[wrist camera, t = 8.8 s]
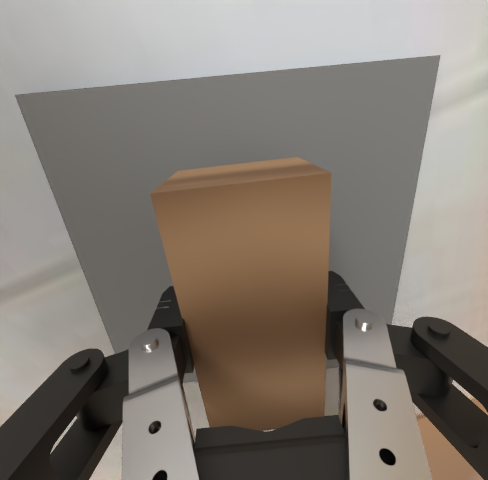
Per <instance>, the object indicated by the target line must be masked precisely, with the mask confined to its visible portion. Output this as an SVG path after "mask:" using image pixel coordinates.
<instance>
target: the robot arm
mask: <svg viewBox="0 0 488 480" xmlns="http://www.w3.org/2000/svg"><path fill="white" fill-rule="evenodd" d="M325 354H326V357H327V359H328V360H333V359H337V361H338V363H339V416H338V415H333V416H323V417H313V418H303V419H301V420H298V421H296V422H293V423H291V424H288V425H286V426H283V427H281V428H278V429H276V430H273V431H270V432H264V431H259V430H253V429H248V428H242V427H237V426H232V425H231V426H221V427H211V428H201V429H197V430H196V439H195V436H194V432H193V428H192V423H191V419H190V414H189V410H188V405H187V401H186V396H185V392H184V388H183V379H184V374H185V373H193V370H194V361H193V357H192V352H191V348H190V344H189V339H188V335H187V330H186V326H185V322H184V319H182V317H181V313H180V309H179V305H178V301H177V297H176V293H175V289H174V286H170V287H169V288H167V289H166V290H165V291H164V292H163V293H162V296H161V298H160V300H159V303H158V305H157V309H156V310H155V312H154V315H153V317H152V319H151V322H150V324H149V326H148V329H147V331H144V332H142V333H141V334H139V335H138V336H136V337H135V338H134V339H133V340H132V342H131V343H130V346H129V349H127V350H125V351H122V352H120V353H117V354H114V355H111V356H108V357H104V355H103V353H102V351H101V350H99V349H86V350H83V351H80V352H78V353H76V354H74V355H72V356H71V357H69V358H68V359H67V360H65V361H64V362H63V363H62V364H61V365H60V366H59V367H58V368H57V369H56V370H55V371H54V372H53V373H52V375H51V376H50V377H49V378H48V379H47V380H46V381H45V382H44V383H43V384H42V385H41V386H40V387H39V388H38V389H37V390H36V391H35V392H34V393H33V394H32V395H31V396H30V397H29V398H28V399H27V400H26V401H25V402H24V403H23V404H22V405H21V406H20V407H19V408H18V409H17V410H16V411H15V412H14V413H13V415H12V416H11V417H10V418H9V419H8V420H7V421H6V422H5V423H4V424H3V425H2V426H1V427H0V480H89V479H90V477H91V475H92V473H93V472H94V470H95V468H96V467H97V465H98V463H99V462H100V460H101V458H102V456H103V455H104V453H105V451H106V450H107V448H108V446H109V444H110V443H111V441H112V439H113V438H114V436H115V434H116V432H117V431H118V429H119V427H120V426H121V424H122V422H123V425H122V480H433V479H432V475H431V471H430V468H429V464H428V460H427V456H426V452H425V448H424V444H423V441H422V437H421V433H420V429H419V425H418V421H417V418H416V414H415V410H414V406H413V403H414V404H415V405H416V406H417V407H418V408H419V409H420V410H421V412H422V413H423V414H424V415H425V416H426V417H427V418H428V419H429V420H430V421H431V422H432V424H433V425H434V426H435V427H436V428H437V429H438V430H439V431H440V432H441V433H442V434H443V435H444V436H445V438H446V439H447V440H448V441H449V442H450V443H451V444H452V445H453V446H454V447H455V448H456V450H457V451H458V452H459V453H460V454H461V455H462V456H463V457H464V458H465V459H466V460H467V462H468V463H469V464H470V465H471V466H472V467H473V468H474V469H475V470H476V471H477V472H478V474H479V475H480V476H481V477H482V478H483V479H484V480H488V415H487V414H486V413H484V412H483V411H482V410H481V409H480V408H479V407H478V406H476V405H475V404H474V403H473V402H472V401H471V400H470V399H468V398H467V397H466V396H465V395H464V394H463V393H462V392H461V391H459V390H458V389H457V388H456V387H455V386H454V385H453V384H452V381H453V380H455V381H456V382H457V383H458V384H459V385H460V386H462V387H463V388H464V389H465V390H466V391H467V392H469V393H470V394H471V395H472V396H473V397H474V398H476V399H477V400H478V401H479V402H480V403H481V404H482V405H483V406H484V407H485V409H486V410H487V412H488V347H486V346H485V345H483V344H482V343H480V342H479V341H477V340H476V339H474V338H473V337H471V336H470V335H468V334H467V333H465V332H464V331H462V330H461V329H459V328H458V327H456V326H455V325H453V324H451V323H449V322H447V321H445V320H442V319H439V318H434V317H421V318H418V319H416V320H415V321H414V323H413V327H412V328H410V327H402V326H395V325H389V324H386V322H385V321H384V319H383V318H382V317H381V316H380V315H378V314H377V313H375V312H372V311H370V310H366V309H365V308H364V307H363V306H362V304H361V303H360V301H359V300H358V299H357V297H356V296H355V295H354V293H353V292H352V290H350V288H349V286H348V285H346V282H345V281H344V279H343V278H342V277H341V276H340V275H338V274H337V273H335V272H334V271H328V304H327V312H326V332H325ZM75 416H77V419H76V421H75V422H74V423H73V425H72V426H71V427H70V429H69V430H68V432H67V433H66V434H65V436H64V437H63V438H62V440H61V441H60V442H59V444H58V445H57V446H56V448H55V449H54V450H53V452H52V453H51V450H52V448H53V446H54V444H55V442H56V441H57V440H58V438H59V437H60V436H61V434H62V433H63V432H64V430H65V429H66V428H67V426H68V425H69V424H70V422H71V421H72V420H73V418H74V417H75ZM50 453H51V454H50Z"/></svg>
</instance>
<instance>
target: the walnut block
mask: <svg viewBox="0 0 488 480" xmlns="http://www.w3.org/2000/svg"><path fill="white" fill-rule="evenodd" d="M150 196H151V200H152V204H153V208H154V212H155V215H156V219H157V223H158V227H159V231H160V235H161V239H162V243H163V247H164V250H165V254H166V258H167V262H168V266H169V270H170V274H171V278H172V282H173V286H174V289H175V293H176V297H177V301H178V305H179V309H180V313H181V317H182V319H184V322H185V326H186V330H187V335H188V339H189V344H190V348H191V352H192V357H193V361H194V367H195V371H196V375H197V379H198V383H199V387H200V391H201V395H202V398H203V402H204V406H205V410H206V414H207V418H208V422H209V426H210V428H211V427H221V426H231V425H232V426H237V427H242V428H248V429H253V430H259V431H262V430H271V429H278V428H281V427H283V426H286V425H288V424H291V423H293V422H296V421H298V420H301V419H303V418H313V417H323V416H324V405H325V371H326V354H325V332H326V312H327V304H328V270H329V236H330V203H331V172H329V171H327V170H324V169H322V168H320V167H318V166H316V165H314V164H312V163H310V162H308V161H306V160H303V159H301V158H299V157H292V158H284V159H275V160H266V161H258V162H249V163H240V164H232V165H223V166H214V167H206V168H197V169H188V170H180V171H177V172H176V173H175V174H173V175H172V176H171V177H170V178H168V179H167V180H166V181H165V182H164V183H162V184H161V185H160V186H159V187H157V188H156V189H155V190H154V191H152V192H151V193H150Z"/></svg>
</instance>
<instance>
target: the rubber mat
mask: <svg viewBox="0 0 488 480" xmlns="http://www.w3.org/2000/svg"><path fill="white" fill-rule="evenodd" d="M439 60H440V55H438V56H427V57H416V58H406V59H395V60H384V61H373V62H363V63H352V64H341V65H331V66H320V67H309V68H298V69H288V70H277V71H266V72H256V73H245V74H234V75H224V76H213V77H202V78H191V79H181V80H170V81H159V82H149V83H138V84H127V85H116V86H106V87H95V88H84V89H74V90H63V91H52V92H41V93H31V94H20V95H15V97H16V99H17V102H18V104H19V107H20V109H21V112H22V115H23V117H24V120H25V122H26V125H27V128H28V130H29V133H30V135H31V138H32V140H33V143H34V146H35V148H36V151H37V153H38V156H39V158H40V161H41V164H42V166H43V169H44V171H45V174H46V177H47V179H48V182H49V184H50V187H51V189H52V192H53V195H54V197H55V200H56V202H57V205H58V207H59V210H60V213H61V215H62V218H63V220H64V223H65V225H66V228H67V231H68V233H69V236H70V238H71V241H72V244H73V246H74V249H75V251H76V254H77V256H78V259H79V262H80V264H81V267H82V269H83V272H84V274H85V277H86V280H87V282H88V285H89V287H90V290H91V293H92V295H93V298H94V300H95V303H96V305H97V308H98V311H99V313H100V316H101V318H102V321H103V323H104V326H105V329H106V331H107V334H108V336H109V339H110V342H111V344H112V347H113V349H114V352H115V354H117V353H120V352H122V351H125V350H127V349H129V346H130V343H131V342H132V340H133V339H134V338H135V337H136V336H138V335H139V334H141V333H142V332H144V331H147V329H148V326H149V324H150V322H151V319H152V317H153V315H154V312H155V310H156V309H157V305H158V303H159V300H160V298H161V296H162V293H163V292H164V291H165V290H166V289H167V288H169V287H170V286H173V282H172V278H171V274H170V270H169V266H168V262H167V258H166V254H165V250H164V247H163V243H162V239H161V235H160V231H159V227H158V223H157V219H156V215H155V212H154V208H153V204H152V200H151V196H150V193H151V192H152V191H154V190H155V189H156V188H157V187H159V186H160V185H161V184H162V183H164V182H165V181H166V180H167V179H168V178H170V177H171V176H172V175H173V174H175V173H176V172H177V171H180V170H188V169H197V168H206V167H214V166H223V165H232V164H240V163H249V162H258V161H266V160H275V159H284V158H292V157H299V158H301V159H303V160H306V161H308V162H310V163H312V164H314V165H316V166H318V167H320V168H322V169H324V170H327V171H329V172H331V203H330V236H329V270H328V271H334V272H335V273H337V274H338V275H340V276H341V277H342V278H343V279H344V281H345V282H346V285H348V286H349V288H350V290H352V292H353V293H354V295H355V296H356V297H357V299H358V300H359V301H360V303H361V304H362V306H363V307H364V308H365V309H366V310H370V311H372V312H375V313H377V314H378V315H380V316H381V317H382V318H383V319H384V321H385V322H386V324H389V325H391V323H392V318H393V312H394V307H395V301H396V296H397V291H398V285H399V280H400V274H401V269H402V263H403V258H404V252H405V247H406V241H407V236H408V230H409V225H410V219H411V214H412V208H413V203H414V197H415V192H416V186H417V181H418V175H419V170H420V164H421V159H422V153H423V148H424V142H425V137H426V131H427V126H428V120H429V115H430V110H431V104H432V99H433V93H434V88H435V82H436V77H437V71H438V66H439ZM335 367H339V363H338V361H337V359H333V360H328V359H327V357H326V368H335ZM192 381H198V379H197V375H196V371H195V367H194V370H193V373H185V374H184V379H183V382H192Z"/></svg>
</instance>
